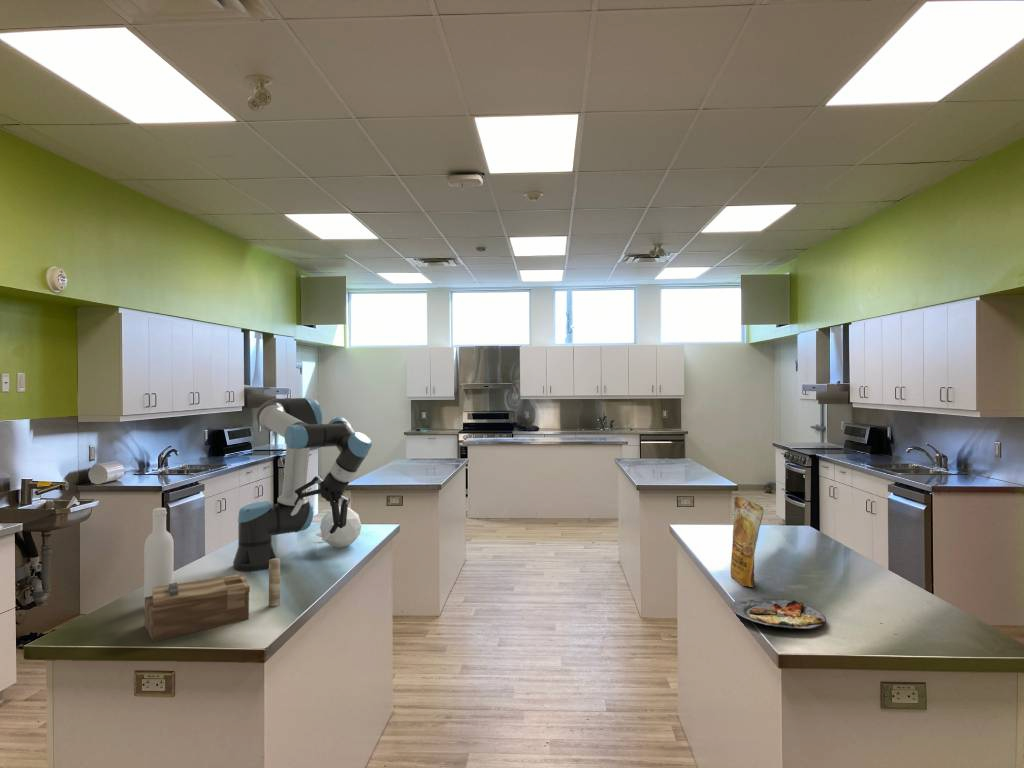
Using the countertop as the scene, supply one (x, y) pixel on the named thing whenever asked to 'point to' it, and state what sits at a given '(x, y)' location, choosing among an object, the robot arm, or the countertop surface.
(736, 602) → the food plate
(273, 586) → the pin
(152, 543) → the bottle
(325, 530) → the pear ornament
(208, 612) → the toolbox
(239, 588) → the toolbox lid
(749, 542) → the pancake mix bag
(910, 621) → the countertop surface
